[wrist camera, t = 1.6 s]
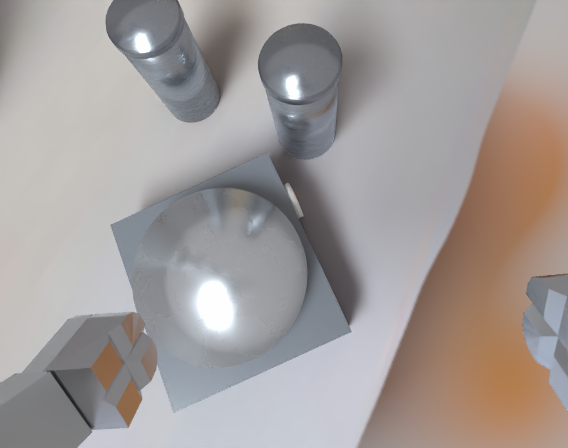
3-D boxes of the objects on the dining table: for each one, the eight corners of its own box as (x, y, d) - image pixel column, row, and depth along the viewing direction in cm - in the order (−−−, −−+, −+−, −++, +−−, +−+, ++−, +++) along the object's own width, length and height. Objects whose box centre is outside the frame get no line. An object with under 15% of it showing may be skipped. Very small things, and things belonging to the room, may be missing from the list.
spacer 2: (268, 120, 29) (244, 43, 21) (320, 96, 29) (320, 8, 20) (291, 170, 28) (277, 111, 19) (346, 144, 28) (357, 74, 19)
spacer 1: (159, 87, 31) (94, 2, 22) (209, 63, 31) (163, -30, 22) (177, 132, 30) (117, 62, 21) (229, 108, 30) (190, 29, 21)
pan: (118, 233, 25) (109, 231, 24) (266, 165, 25) (263, 160, 24) (173, 394, 22) (166, 399, 22) (337, 319, 22) (337, 320, 21)
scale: (132, 232, 28) (107, 223, 25) (279, 164, 28) (274, 146, 25) (190, 399, 26) (171, 414, 22) (355, 324, 25) (360, 328, 22)
